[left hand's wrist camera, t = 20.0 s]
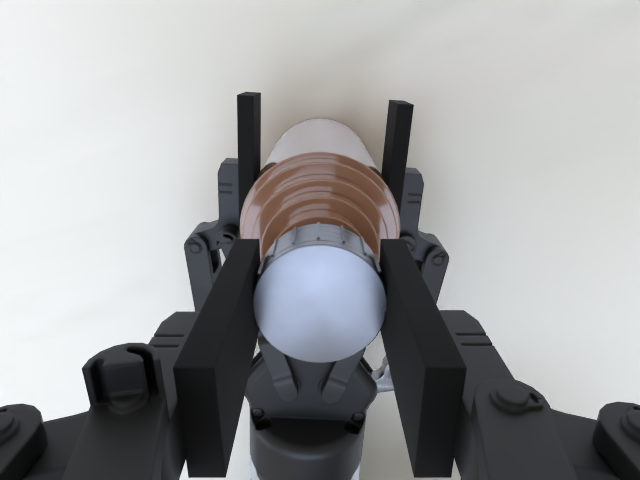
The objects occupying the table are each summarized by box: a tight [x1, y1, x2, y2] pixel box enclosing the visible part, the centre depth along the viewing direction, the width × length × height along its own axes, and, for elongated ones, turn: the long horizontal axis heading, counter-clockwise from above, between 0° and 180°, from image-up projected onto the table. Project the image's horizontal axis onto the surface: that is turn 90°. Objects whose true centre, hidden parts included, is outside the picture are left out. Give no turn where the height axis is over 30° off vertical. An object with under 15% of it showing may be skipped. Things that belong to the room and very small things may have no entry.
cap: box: [253, 222, 387, 363], centre depth 14 cm, size 4×4×2 cm
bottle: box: [240, 118, 400, 261], centre depth 22 cm, size 7×7×18 cm
